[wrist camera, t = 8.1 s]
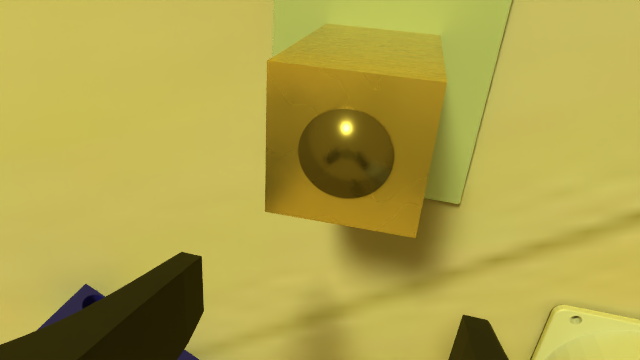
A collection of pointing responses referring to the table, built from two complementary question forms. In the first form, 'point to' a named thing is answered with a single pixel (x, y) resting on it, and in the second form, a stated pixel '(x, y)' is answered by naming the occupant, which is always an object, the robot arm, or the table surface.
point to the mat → (458, 51)
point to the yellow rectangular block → (354, 126)
